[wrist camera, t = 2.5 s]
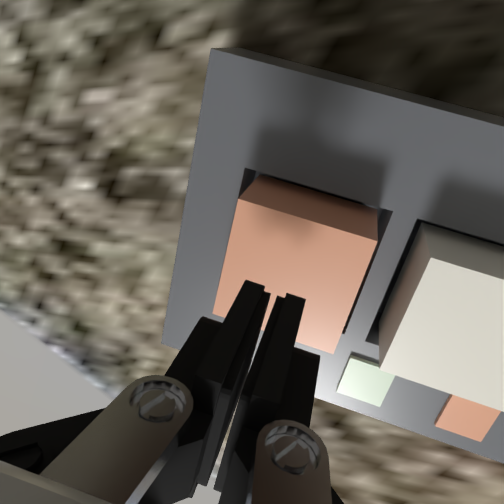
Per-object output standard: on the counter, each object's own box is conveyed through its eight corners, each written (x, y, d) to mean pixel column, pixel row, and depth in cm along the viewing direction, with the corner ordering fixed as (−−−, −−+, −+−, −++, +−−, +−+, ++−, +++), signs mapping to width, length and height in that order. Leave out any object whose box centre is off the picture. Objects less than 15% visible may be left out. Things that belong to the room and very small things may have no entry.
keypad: (839, 206, 15) (967, 250, 12) (626, 450, 21) (673, 526, 17) (239, 47, 18) (208, 48, 14) (189, 302, 23) (159, 346, 20)
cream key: (549, 260, 16) (585, 304, 13) (490, 358, 18) (511, 414, 15) (421, 222, 16) (430, 257, 14) (378, 322, 18) (379, 369, 16)
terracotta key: (377, 208, 16) (377, 241, 14) (339, 309, 18) (333, 354, 16) (259, 174, 17) (238, 198, 14) (235, 275, 19) (212, 313, 16)
